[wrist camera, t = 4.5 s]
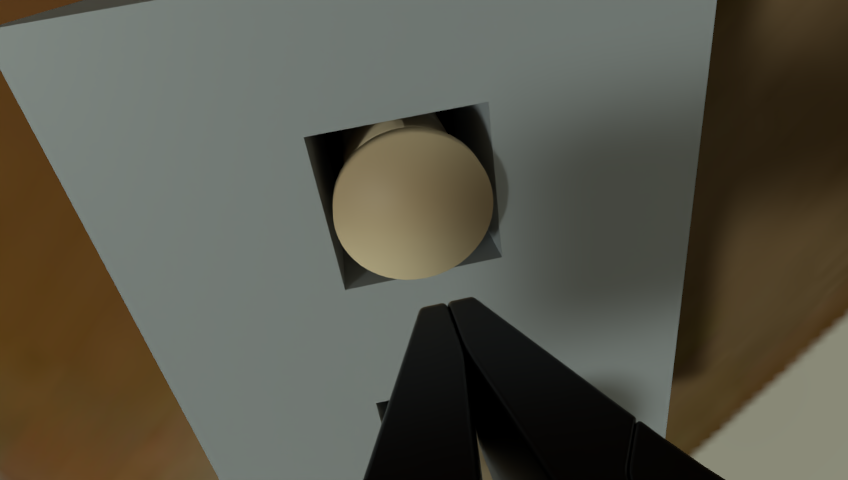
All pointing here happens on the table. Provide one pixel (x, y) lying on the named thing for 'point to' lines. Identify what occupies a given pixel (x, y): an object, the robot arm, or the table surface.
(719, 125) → the table surface
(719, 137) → the table surface
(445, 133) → the peg
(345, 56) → the board
